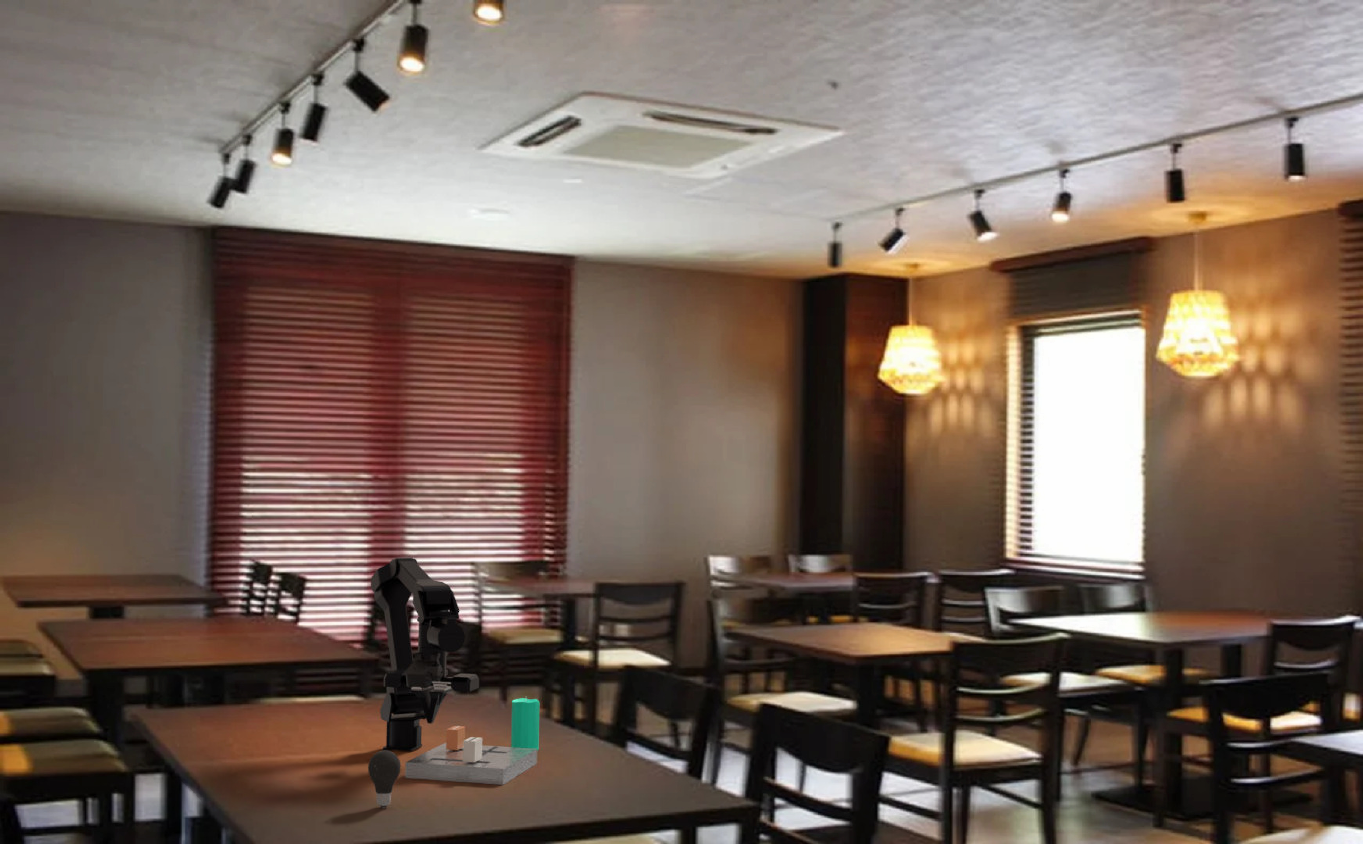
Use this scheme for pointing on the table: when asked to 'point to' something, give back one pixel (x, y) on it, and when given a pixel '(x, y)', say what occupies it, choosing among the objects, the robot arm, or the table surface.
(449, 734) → the fader orange
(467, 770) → the grey slider board
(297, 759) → the table surface
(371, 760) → the light bulb
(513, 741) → the candle
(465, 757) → the fader cream
